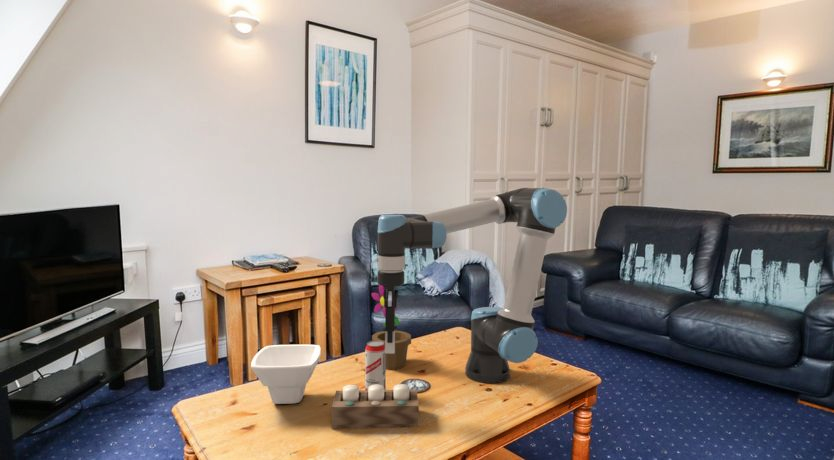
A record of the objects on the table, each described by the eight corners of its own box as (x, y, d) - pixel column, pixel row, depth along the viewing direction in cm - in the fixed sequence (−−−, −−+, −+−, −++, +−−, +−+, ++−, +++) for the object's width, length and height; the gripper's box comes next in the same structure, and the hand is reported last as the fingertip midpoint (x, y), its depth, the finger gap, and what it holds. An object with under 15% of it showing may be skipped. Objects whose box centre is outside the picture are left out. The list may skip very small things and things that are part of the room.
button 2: (409, 400, 136) (409, 383, 135) (409, 408, 131) (409, 390, 131) (393, 401, 135) (393, 384, 135) (393, 408, 131) (393, 390, 131)
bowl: (316, 414, 135) (316, 366, 133) (246, 415, 133) (245, 367, 132) (325, 386, 153) (324, 343, 152) (263, 387, 152) (262, 344, 150)
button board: (416, 409, 138) (416, 388, 137) (418, 427, 128) (418, 404, 127) (336, 410, 137) (336, 389, 136) (331, 428, 127) (331, 406, 126)
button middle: (384, 401, 135) (384, 384, 135) (383, 408, 131) (384, 390, 130) (368, 401, 135) (368, 384, 135) (367, 408, 131) (367, 391, 130)
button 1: (359, 401, 135) (359, 384, 134) (358, 408, 131) (358, 391, 130) (343, 401, 135) (343, 384, 134) (342, 409, 130) (341, 391, 130)
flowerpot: (363, 364, 171) (362, 282, 168) (390, 354, 182) (391, 276, 179) (392, 375, 162) (392, 288, 159) (419, 363, 173) (420, 281, 170)
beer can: (382, 398, 145) (382, 347, 143) (362, 396, 146) (362, 345, 144) (387, 389, 151) (387, 340, 149) (368, 388, 152) (368, 339, 150)
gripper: (379, 266, 139) (378, 344, 142) (375, 274, 126) (374, 360, 129) (404, 266, 139) (403, 345, 142) (404, 274, 126) (402, 361, 129)
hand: (389, 352), depth 135 cm, fingers closed
